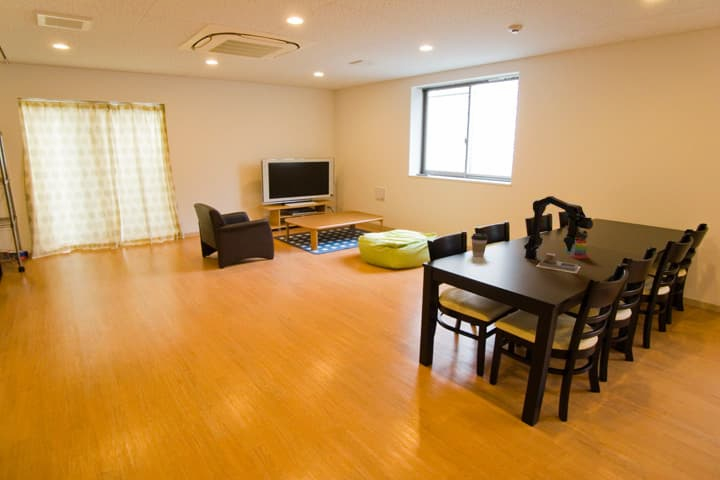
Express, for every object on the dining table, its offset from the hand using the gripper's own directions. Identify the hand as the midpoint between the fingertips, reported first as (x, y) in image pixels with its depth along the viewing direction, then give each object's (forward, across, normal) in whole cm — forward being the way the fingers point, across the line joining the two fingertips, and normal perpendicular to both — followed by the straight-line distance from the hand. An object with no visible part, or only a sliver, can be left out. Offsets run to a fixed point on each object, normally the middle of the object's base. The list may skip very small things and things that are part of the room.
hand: (570, 250), depth 251 cm
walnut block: (+11, 0, +11) cm, 15 cm away
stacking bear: (+12, +34, -1) cm, 36 cm away
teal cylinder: (+2, 0, 0) cm, 2 cm away
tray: (+12, 0, +5) cm, 13 cm away
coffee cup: (+12, -6, +56) cm, 57 cm away
